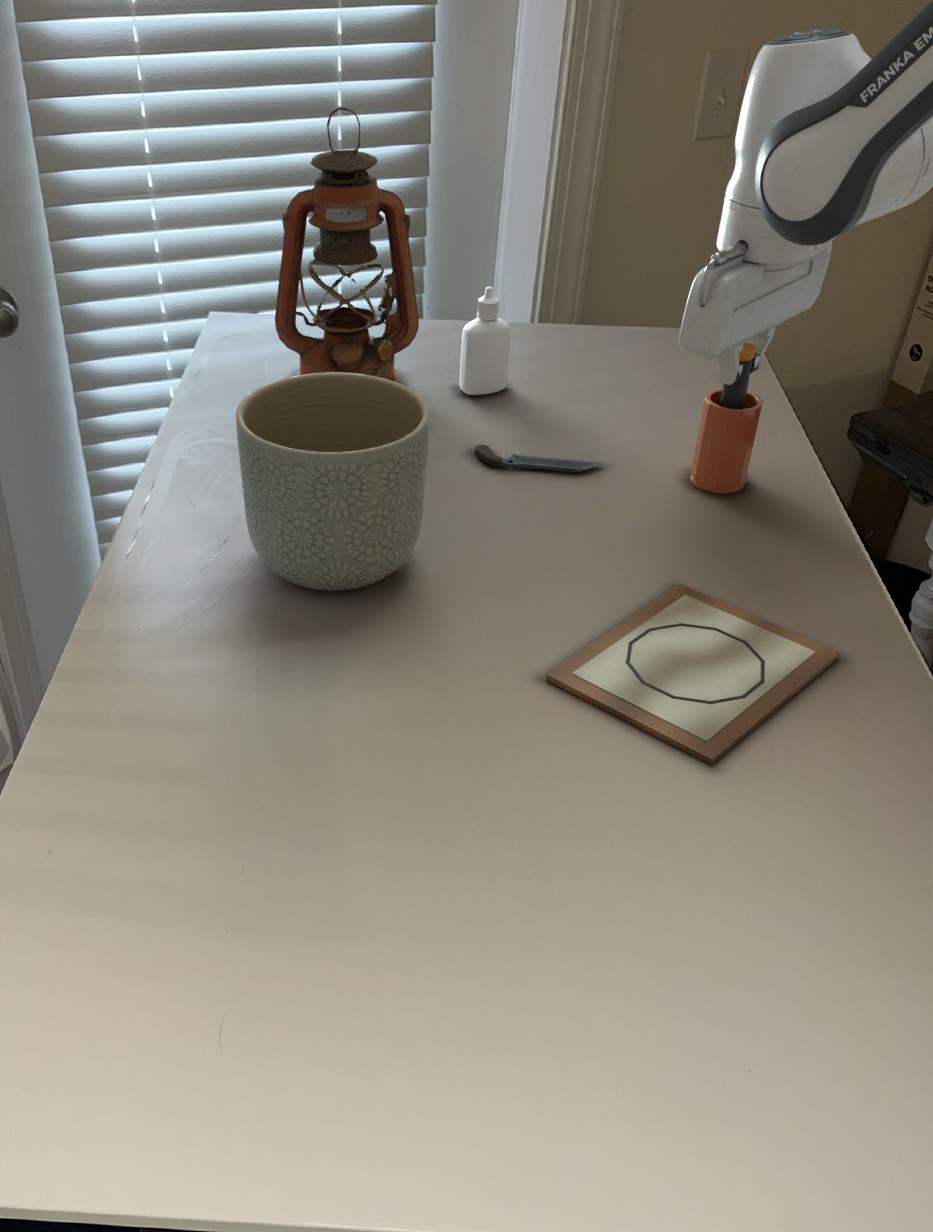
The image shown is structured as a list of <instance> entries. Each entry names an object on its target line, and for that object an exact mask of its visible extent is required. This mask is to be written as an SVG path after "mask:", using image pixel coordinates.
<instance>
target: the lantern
mask: <svg viewBox="0 0 933 1232" xmlns="http://www.w3.org/2000/svg"><path fill="white" fill-rule="evenodd" d="M338 111H348V112H351V114H353V115H354V116H355V118H356V121H357V123H358V141H357V146H356V148H354V149H339V150H334V148H333V146H332V140H331V133H330V125H331V124H330V122H331V119H332V116H333V115H334V114H335V113H337V112H338ZM326 127H327V128H326V129H327V137H328V144H329V145H328V146H329V148H330V151H324V152H321V153H318V154H316V155H314V156H313V157H312V158H311V161H310V165H311V166H312V167H314V168H316V169H317V170H320V171H321V172H320V174H319V175H318V176H317V177H316V178H314V180H313V181H314V182H313V187H312V188H309V189H305V190H302V191H299V192H297V194H295V195H294V197H293V198H292V199H291V200H290V202H289V204H288V206H287V207H286V212H284V213H282V215H281V216H282V218H281V223H282V227H283V239H282V240H283V241H282V249H281V250H282V252H281V260H280V269H279V275H278V276H279V277H278V286H277V294H276V306H275V314H274V323H275V330H276V333H277V336H278V339H279V340H280V342H281V343H282V344H283V345H284V346H285V347H286V348H287V349H289V350H290V351H293V352H295V353H297V355H299V370H298V372H297V373H296V375H295V376H299V375H305V374H314V373H355V374H364V375H370V376H375V377H380V378H384V379H388V380H391V381H394V382H397V383H399V384H401V379H400V377H399V375H398V372H397V370H396V369H395V356H396V355H395V354H398V353H400V352H402V351H403V350H405V349H406V348H408V347H409V346H411V344H412V342H413V341H414V340H415V339H416V336H417V334H418V331H419V324H420V317H419V312H418V304H417V295H416V286H415V276H414V268H413V261H412V254H411V253H412V252H411V247H410V229H411V228H410V227H411V216H410V215H409V214H408V213H406V208H405V206H404V204H403V201H402V199H401V198H400V197H399V196H398V195H397V194H396V192H392V191H390V190H387V189H383V188H380V187H379V186H378V179H377V177H375V176H374V175H372V174H369V172H368V171H367V170H370V169H371V168H373V167H374V166H376V165H377V164H378V158H377V156H375V155H373V154H370V153H367V152H363V151H359V150H360V147H361V123H360V119H359V116H358V115H357V113H356V112H355V111H353V110H352V109H351V108H347V107H344V106H343V107H341V106H340V107H337V108H335V109H333V110H332V111H331V112H330V113H329V116H328V118H327V122H326ZM311 212H312V213H311ZM381 212H382V213H383V215H384V216H383V215H382V214H380V213H381ZM309 213H311V214H312V215H311V216H310V217H309V218H308V214H309ZM307 218H308V219H307ZM384 220H385V224H386V228H387V236H388V245H389V255H390V261H391V273H388V274H385V275H384V272H385V269H384V266H383V265H382V264H380V263H371V262H373V261H375V260H376V259H377V258H378V256H379V254H378V250H377V247H376V246H375V244H373V243H372V242H371V229H374V228H376V227H378V226H380V225H382V223H384ZM307 223H309V225H311V227H312V226H313V227H314V228H318V230H319V242H318V243H316V244H315V245H314V246H313V250H312V255H313V258H314V259H312V260H311V261H310V262H309V263H308V265H307V270H308V273H309V275H310V279H312V280H313V281H314V282H315V283H316V284H317V285H318V286H319V287H321V288H322V290H324V291H325V295H324V297H323V299H322V300H321V302H320V303H319V304H318V305H317V306H316V308H317V309H315V310H316V312H315V313H314V312H313V311H312V309H311V307H310V306H309V304H308V302H307V301H308V300H307V299H306V298H307V297H306V294H305V286H304V281H303V280H304V279H303V272H302V263H303V256H304V255H303V254H304V246H305V240H306V239H305V237H306V231H307ZM369 263H371V264H369ZM365 264H366V265H365ZM313 266H324V267H332V268H336V270H338V272H339V273H340V274H341V276H340V277H338V279H335V281H334V282H333V283H332V284H331V286H329V285H327V284H326V283H325V282H324V281H323V280H322V278H321V277H319V275H318V274H317V273H316V271H314V268H313ZM343 266H344V267H352V266H353V267H354V266H359V267H356V268H354V269H353V270H348V272H345V270H344V269H343V268H342V267H343ZM372 268H373V269H374V268H380V269H381V271H380V272H379V273H378V274H377V275H375V277H374V278H373V279H372V280H371V281H370V282H369V283H368V284H367V285H366V286H364V288H360V289H359V291H358V292H357V293H356V294H355V295H353V296H351V297H349V298H345V297H343V295H342V294H340V293H339V292H337V290H334V289H335V288H336V287H337V286H339V284H340V283H341V282H342V281H343V279H344V278H346V277H347V278H348V279H349V278H351V279H350V281H351V282H353V283H354V284H356V280H355V279H354V278H353V277H352V275H354V274H357V273H359V272H360V271H364V270H368V269H370V270H371V269H372ZM383 275H384V285H383V286H384V288H383V294H382V297H381V300H380V303H379V305H378V307H377V310H378V311H379V313H381V314H380V317H379V318H378V315H377V314H376V311H375V308H374V306H373V304H372V301H371V298H370V297H369V296H368V295H367V294H366V292H368V291H369V290H370V289H372V288H373V287H374V286H375V285H376V284H377V283H378V282H379V281H380V280H381V279H382V277H383ZM385 285H386V286H385ZM299 288H300V291H301V296H302V300H303V303H304V306H305V308H306V309H307V311H308V312H309V314H311V316H312V322H310V321H309V318H308V317H307V316H306V314H305V313H303V312H301V311H297V307H298V295H299ZM390 288H391V294H390ZM328 294H329V295H331V297H333V298H334V299H336V300H337V301H338V302H339V303H338V305H337V306H336V307H331V308H324V309H322V305H323V303H324V300H325V298H326V296H327V295H328ZM361 296H362V297H363V298H364V299H365V301H366V303H367V305H368V307H369V308H370V309H368V308H362V307H357V306H354V305H353V304H352V303H351V302H353V301H355V300H356V299H358V298H360V297H361ZM394 301H395V302H396V311H395V312H394V313H393V314H390V313H391V311H392V310H393V305H394ZM344 305H346V306H344ZM383 309H384V310H383ZM297 316H298V317H299V316H300V317H302V318H303V321H304V324H305V326H309V327H317V328H319V329H321V330H323V335H322V336H320V337H315V336H314V337H313V336H311V335H305V334H303V333H302V332H300V331H299V330H298V328H297ZM383 324H384V325H385V327H384V331H383V334H382V336H377V337H375V336H373V335H371V334H370V330H369V329H370V328H372V327H378V326H380V325H383Z"/></svg>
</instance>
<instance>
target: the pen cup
mask: <svg viewBox="0 0 933 1232" xmlns="http://www.w3.org/2000/svg"><path fill="white" fill-rule="evenodd" d="M722 388H723V387H721V388H715V389H712V390H710V391H709V392H706V394H705V397H704V401H703V406H702V412H701V417H700V423H699V428H698V433H697V439H696V444H695V448H694V453H693V454H694V455H693V461H692V465H691V471H690V476H689V479H690V480H689V481H690V482H691V484H692V485H693V486H695V487H696V488H698V489H699V490H702V491H706V492H708V493H714V494H731V493H736V492H739V491H741V490H742V489H743V488H744V487H745V484H746V480H747V475H748V472H749V468H750V467H749V466H750V462H751V457H752V453H753V448H754V444H755V439H756V435H757V430H758V425H759V421H760V416H761V412H762V407H763V403H764V401H763V399H762V398H761V397H760V396H759V395H758V394H756V393H754V392H752V391H749V390H747V394H746V399H745V405H744V409H730V408H725V407H721V406H720V400H721V394H722Z"/></svg>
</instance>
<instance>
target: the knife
mask: <svg viewBox="0 0 933 1232" xmlns="http://www.w3.org/2000/svg"><path fill="white" fill-rule="evenodd" d="M474 454H476V456H477V457H478V458H480V460H482V461H483V462H484V463H486V464H488V465H491V466H495V467H502V466H503V467H506V468H507V467H508V468H527V469H537V470H538V469H539V470H548V471H549V470H550V471H558V472H559V471H560V472H572V473H580V472H582V471H588V470H591V469H593V468H597V467H600V466H602V465H604V464H605V461H595V460H584V459H572V458H561V457H549V456H540V455H539V456H538V455H529V454H517V453H512V454H511V455H510V457H509V458H504V457H502V456H499V455H495V453H494V452H493V450H492V449H491V447H490V446H489V445H486V444H477V445H476V446H475V450H474Z"/></svg>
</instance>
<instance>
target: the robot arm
mask: <svg viewBox="0 0 933 1232" xmlns="http://www.w3.org/2000/svg"><path fill="white" fill-rule="evenodd" d="M750 70H751V71H750V73H749V76H748V80H747V83H746V87H745V91H744V95H743V98H742V102H741V108H740V111H739V112H740V113H739V117H738V122H737V127H736V133H735V139H734V150H735V164H734V168H733V172H732V175H731V177H730V179H729V180H728V183H727V186H726V189H725V192H724V193H725V194H724V199H723V205H722V210H721V211H722V212H721V216H720V221H719V226H718V230H717V231H718V232H717V238H716V243H715V244H716V245H715V246H716V248H717V251H715V252H714V253H713V254H712V255H711V256H710V261H709V262H708V263H707V265H705V266H704V267H703V268H701V270H699V271H698V272H697V274H696V275H695V277H694V279H693V282H692V284H691V287H690V289H689V292H688V297H687V300H686V304H685V308H684V313H683V315H682V316H683V317H682V321H681V325H680V330H679V334H678V345H679V348H680V350H681V352H683V353H685V354H688V355H691V356H693V357H697V358H699V359H700V358H701V359H703V360H713V359H715V358H717V360H718V364H719V365H718V370H717V376H716V379H717V381H718V382H719V383H722V384H723V383H724V384H727V385H731V384H733V383H735V382H736V381H738V380H739V379H740V378H741V372H742V369H743V364H741V363H739V352H740V351H742V349H743V344H744V342H746V343H750V344H752V345H754V346H755V352H754V357H753V360H752V366H751V371H750V374H752V373H755V372H756V371H759V370H760V369H761V367H762V363H763V359H764V358H763V357H764V354H765V353H766V351H767V349H768V347H769V345H770V343H771V342H772V339H773V337H774V335H775V332H776V328H777V327H778V326H779V325H780V324H783V323H785V322H787V321H788V320H790V319H792V318H794V317H796V316H799V315H800V314H802V313H805V312H806V311H808V310H810V309H811V308H812V307H813V305H814V304H815V302H816V300H817V299H818V297H819V294H820V292H821V290H822V287H823V284H824V280H825V276H826V274H827V269H828V266H829V262H830V258H831V253H832V249H833V242H832V241H833V240H835V239H836V238H837V237H839V236H840V235H842V234H844V233H846V232H847V231H849V230H851V229H852V228H855V227H857V226H860V225H863V224H865V223H867V222H870V221H873V220H875V219H878V218H881V217H883V216H886V215H888V214H889V213H892V212H894V211H897V210H899V209H902V208H904V207H907V206H910V205H911V204H913V203H914V202H916V201H918V200H920V199H922V198H923V197H925V196H926V195H928V194H929V192H931V191H932V190H933V0H931V1H930V2H929V3H928V4H927V5H926V6H925V7H924V8H923V9H922V10H921V11H920V12H919V13H918V14H917V15H916V16H914V18H912V19H911V20H910V21H909V23H908V24H906V26H905V27H903V28H902V29H901V30H900V31H899V32H898V33H897V34H896V35H895V36H894V37H893V38H892V39H891V40H890V41H889V42H887V44H886V45H885V46H884V47H882V48H881V50H879V52H878V53H877V54H876V55H875V56H873V57H872V58H871V57H870V56H869V55H868V54H867V53H866V51H864V49H863V47H862V45H861V44H860V41H859V39H858V38H857V36H856V35H855V34H854V33H853V32H851V31H850V30H847V29H843V28H837V27H831V28H830V27H827V28H825V27H824V28H815V29H807V30H804V31H795V32H790V33H785V34H781V35H779V36H776V37H774V38H772V39H770V40H768V42H767V43H765V44H764V45H763V46H762V47H761V48H760V50H759V52H758V54H757V55H756V58H755V60H754V62H753V65H752V68H751V69H750Z"/></svg>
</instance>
